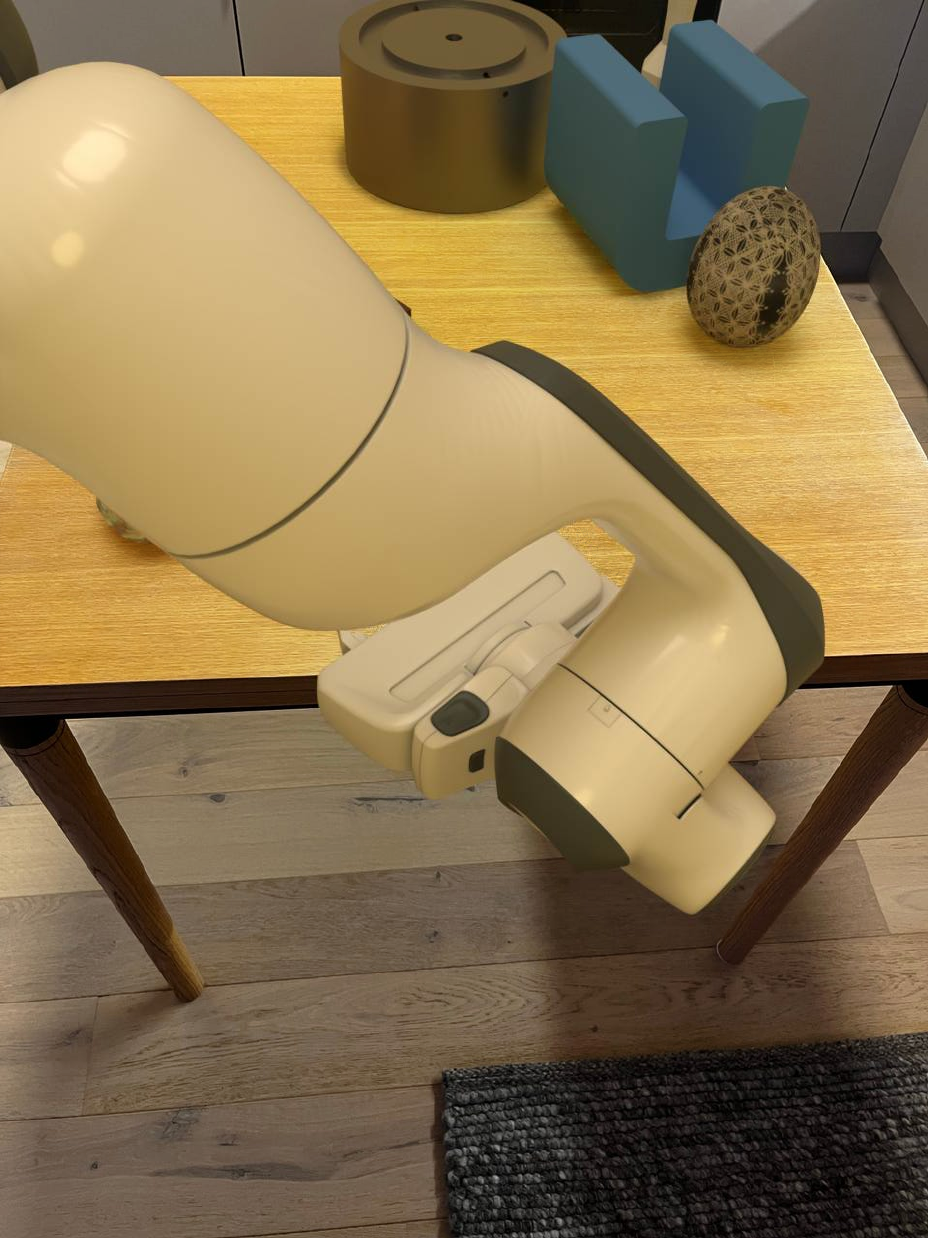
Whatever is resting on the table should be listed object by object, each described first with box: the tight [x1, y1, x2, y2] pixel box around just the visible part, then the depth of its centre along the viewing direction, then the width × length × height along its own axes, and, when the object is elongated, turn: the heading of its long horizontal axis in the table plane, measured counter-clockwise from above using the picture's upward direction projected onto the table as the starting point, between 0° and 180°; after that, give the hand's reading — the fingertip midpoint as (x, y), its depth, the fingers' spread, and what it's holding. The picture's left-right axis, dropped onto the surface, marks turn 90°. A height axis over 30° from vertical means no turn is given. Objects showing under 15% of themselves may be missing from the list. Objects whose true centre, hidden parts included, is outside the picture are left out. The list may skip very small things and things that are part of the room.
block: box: [544, 19, 811, 293], centre depth 103 cm, size 18×18×18 cm
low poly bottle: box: [640, 0, 698, 91], centre depth 111 cm, size 6×6×22 cm
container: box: [337, 0, 568, 214], centre depth 114 cm, size 25×25×13 cm
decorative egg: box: [685, 186, 822, 349], centre depth 93 cm, size 12×12×15 cm
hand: (384, 567), depth 68 cm, fingers open, 8 cm apart
